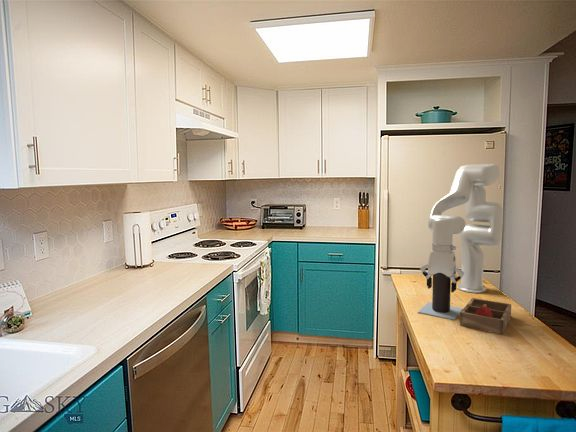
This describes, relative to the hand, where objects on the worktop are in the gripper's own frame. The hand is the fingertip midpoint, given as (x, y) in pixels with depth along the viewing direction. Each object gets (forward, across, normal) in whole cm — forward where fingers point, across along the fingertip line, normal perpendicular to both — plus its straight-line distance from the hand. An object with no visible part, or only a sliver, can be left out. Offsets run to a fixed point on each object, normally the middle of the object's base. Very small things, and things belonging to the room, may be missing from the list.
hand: (441, 289), depth 155 cm
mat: (+9, 0, 0) cm, 9 cm away
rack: (+9, -17, +1) cm, 19 cm away
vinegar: (+9, 0, 0) cm, 9 cm away
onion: (+9, -17, +6) cm, 20 cm away
